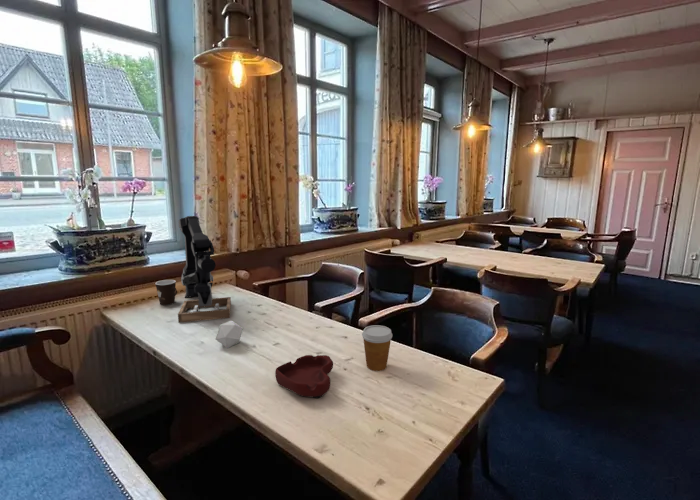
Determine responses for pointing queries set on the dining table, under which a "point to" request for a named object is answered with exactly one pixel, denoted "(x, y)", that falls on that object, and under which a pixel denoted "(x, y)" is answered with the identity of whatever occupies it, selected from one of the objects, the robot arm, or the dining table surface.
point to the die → (229, 334)
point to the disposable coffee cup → (377, 346)
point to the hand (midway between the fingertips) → (205, 302)
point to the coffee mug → (166, 291)
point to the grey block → (209, 301)
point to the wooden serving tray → (204, 314)
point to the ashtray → (306, 375)
